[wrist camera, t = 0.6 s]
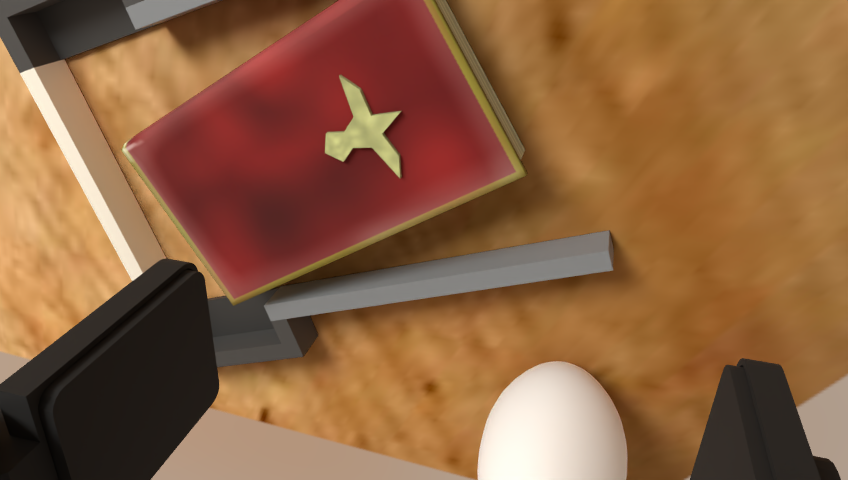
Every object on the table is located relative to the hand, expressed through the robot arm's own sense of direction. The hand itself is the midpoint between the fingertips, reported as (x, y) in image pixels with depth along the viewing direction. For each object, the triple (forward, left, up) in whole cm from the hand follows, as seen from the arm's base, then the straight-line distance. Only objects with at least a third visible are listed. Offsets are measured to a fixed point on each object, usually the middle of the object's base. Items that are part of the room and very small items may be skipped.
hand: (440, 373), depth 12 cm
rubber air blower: (+5, +20, -26) cm, 33 cm away
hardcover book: (+14, +1, -26) cm, 30 cm away
